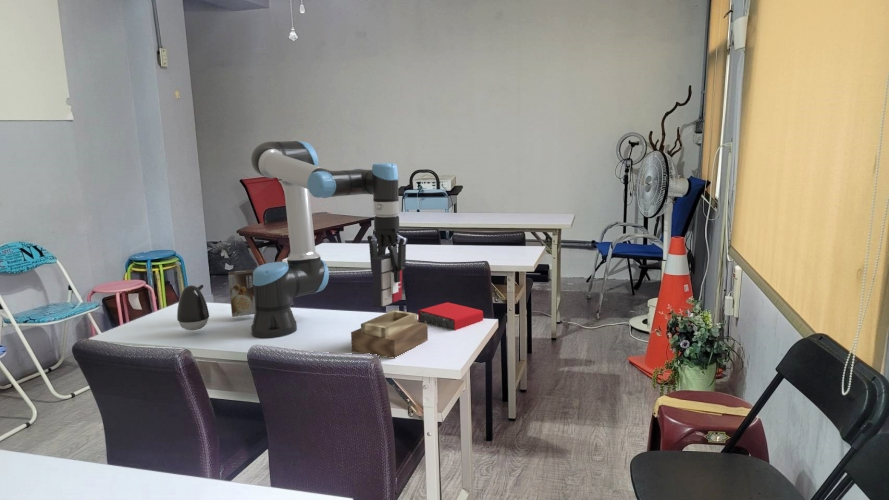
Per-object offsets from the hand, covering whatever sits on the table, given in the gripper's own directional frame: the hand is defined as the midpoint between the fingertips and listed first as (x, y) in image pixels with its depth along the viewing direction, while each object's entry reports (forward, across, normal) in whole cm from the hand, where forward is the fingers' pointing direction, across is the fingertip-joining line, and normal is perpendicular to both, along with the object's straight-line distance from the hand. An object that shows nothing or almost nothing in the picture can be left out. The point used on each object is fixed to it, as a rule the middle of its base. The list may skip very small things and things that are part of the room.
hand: (388, 291), depth 181 cm
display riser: (+18, 0, 0) cm, 18 cm away
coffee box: (+18, -71, +5) cm, 73 cm away
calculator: (+4, -1, 0) cm, 4 cm away
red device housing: (+18, +4, +30) cm, 36 cm away
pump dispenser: (+18, -72, -16) cm, 76 cm away
